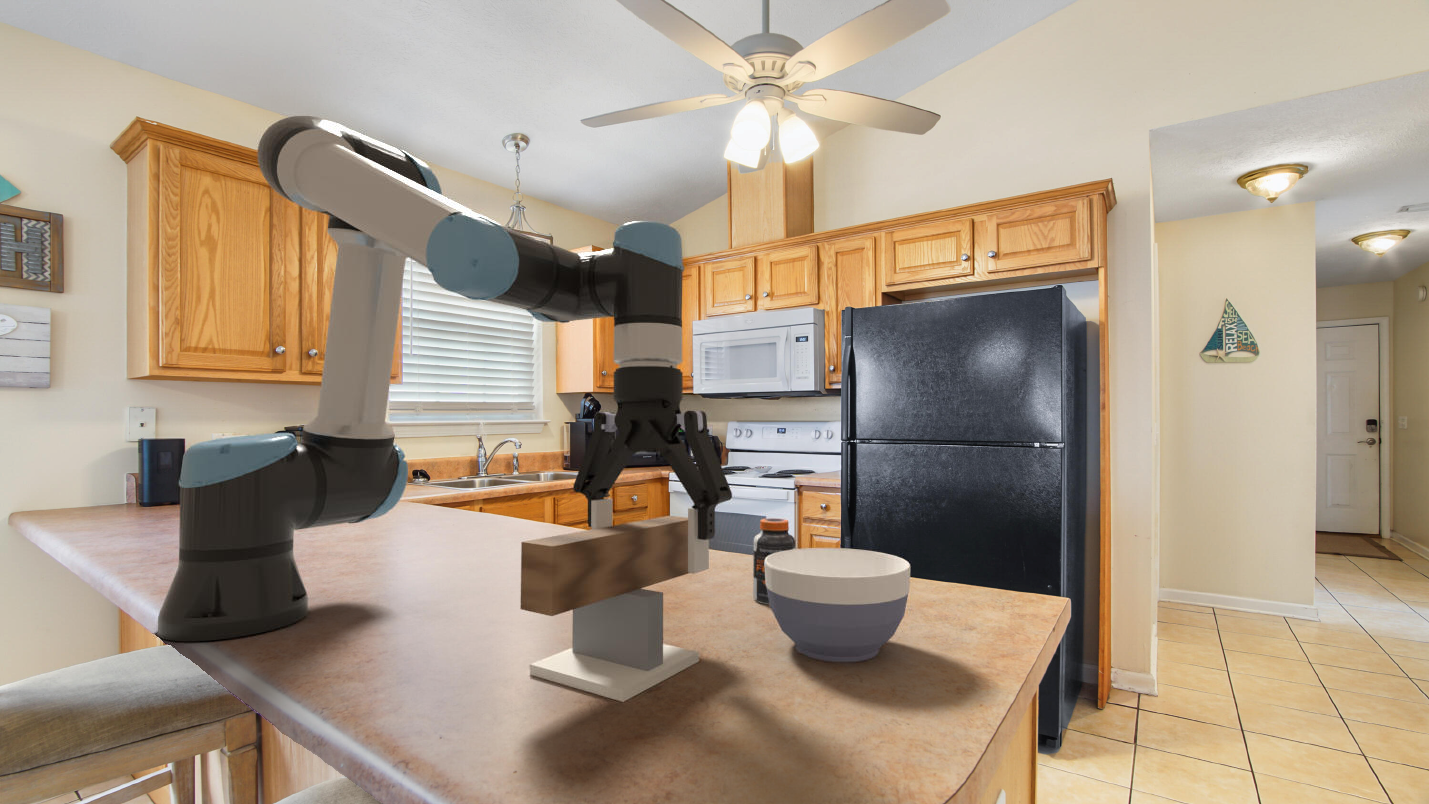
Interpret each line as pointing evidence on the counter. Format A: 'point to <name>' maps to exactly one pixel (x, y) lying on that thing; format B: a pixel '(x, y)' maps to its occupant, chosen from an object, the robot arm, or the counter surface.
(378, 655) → the counter surface
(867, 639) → the bowl
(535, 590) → the beam
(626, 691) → the stand
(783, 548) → the pill bottle
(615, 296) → the robot arm
